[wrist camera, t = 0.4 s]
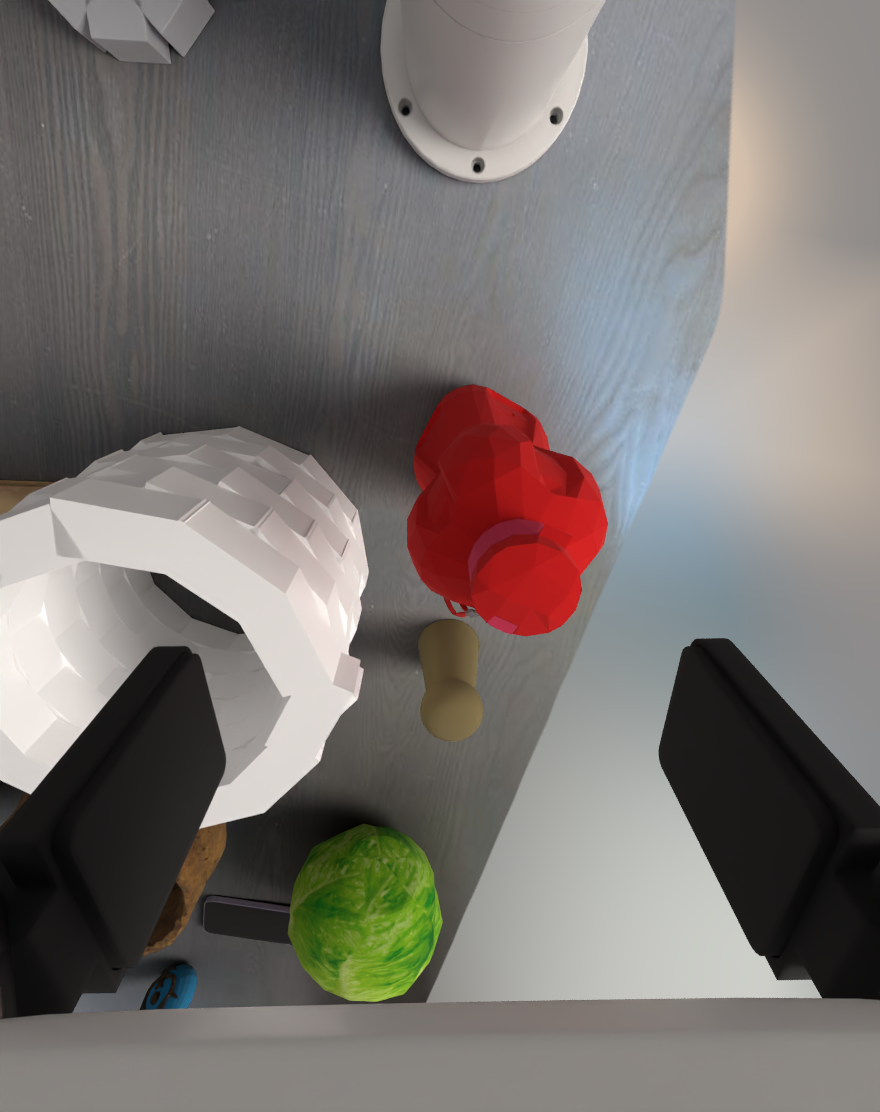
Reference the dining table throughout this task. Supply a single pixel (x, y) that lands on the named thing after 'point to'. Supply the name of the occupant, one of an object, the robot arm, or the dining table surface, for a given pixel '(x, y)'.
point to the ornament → (171, 989)
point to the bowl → (183, 883)
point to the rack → (17, 492)
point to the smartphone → (246, 919)
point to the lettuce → (365, 913)
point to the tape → (138, 26)
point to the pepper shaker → (450, 680)
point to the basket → (155, 620)
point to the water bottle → (501, 515)
